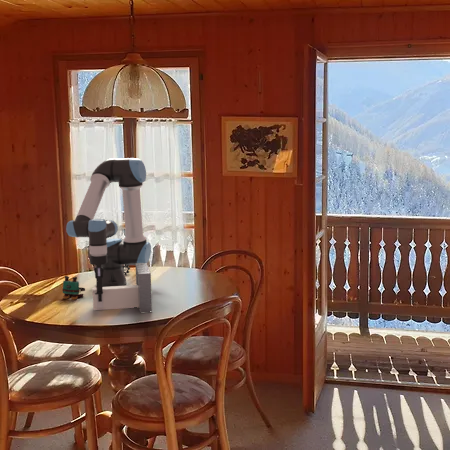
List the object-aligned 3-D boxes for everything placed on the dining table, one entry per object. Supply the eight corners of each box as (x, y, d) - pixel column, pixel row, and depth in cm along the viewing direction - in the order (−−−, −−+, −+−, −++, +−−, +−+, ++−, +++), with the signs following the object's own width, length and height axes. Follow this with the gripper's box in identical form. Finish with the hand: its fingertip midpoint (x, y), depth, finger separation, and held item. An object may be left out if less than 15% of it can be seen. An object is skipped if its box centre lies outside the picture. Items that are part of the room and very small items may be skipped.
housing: (140, 313, 266) (138, 273, 264) (136, 299, 290) (135, 263, 287) (151, 312, 267) (150, 273, 265) (147, 298, 291) (146, 262, 288)
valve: (106, 273, 348) (121, 276, 340) (106, 262, 347) (121, 264, 339) (115, 271, 353) (130, 274, 345) (115, 260, 352) (130, 262, 344)
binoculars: (88, 275, 297) (75, 277, 288) (87, 297, 298) (75, 300, 288) (72, 274, 301) (59, 276, 291) (71, 295, 301) (59, 298, 292)
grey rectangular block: (93, 310, 272) (92, 290, 270) (93, 307, 276) (92, 287, 275) (146, 306, 276) (145, 286, 275) (145, 304, 281) (145, 284, 280)
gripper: (89, 251, 279) (91, 302, 283) (89, 258, 262) (91, 312, 265) (106, 250, 281) (108, 301, 284) (107, 257, 263) (109, 311, 266)
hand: (100, 306), depth 275 cm, fingers closed on grey rectangular block, 5 cm apart
